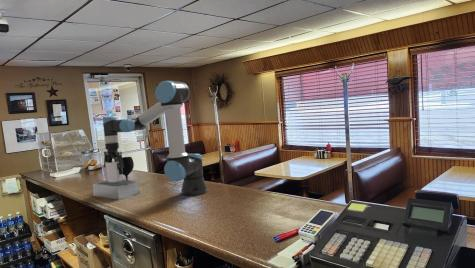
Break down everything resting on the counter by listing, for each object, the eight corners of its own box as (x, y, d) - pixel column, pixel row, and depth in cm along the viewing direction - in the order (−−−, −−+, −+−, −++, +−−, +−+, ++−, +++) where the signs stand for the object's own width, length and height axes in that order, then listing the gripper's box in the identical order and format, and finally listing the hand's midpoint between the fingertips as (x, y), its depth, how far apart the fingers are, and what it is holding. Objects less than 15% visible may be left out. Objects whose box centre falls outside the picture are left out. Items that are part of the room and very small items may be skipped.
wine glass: (132, 188, 212) (129, 158, 211) (116, 189, 213) (113, 159, 211) (137, 185, 223) (135, 156, 221) (122, 186, 223) (120, 157, 221)
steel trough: (139, 193, 198) (138, 181, 198) (119, 200, 186) (117, 187, 185) (114, 190, 212) (113, 178, 211) (93, 196, 199) (92, 184, 198)
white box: (126, 178, 202) (124, 159, 201) (119, 182, 193) (117, 162, 192) (111, 179, 203) (109, 160, 203) (103, 183, 194) (101, 163, 193)
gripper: (128, 141, 193) (132, 179, 195) (106, 141, 205) (109, 176, 207) (118, 143, 187) (121, 181, 189) (95, 143, 199) (98, 179, 201)
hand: (115, 179), depth 198 cm, fingers closed on white box, 9 cm apart
